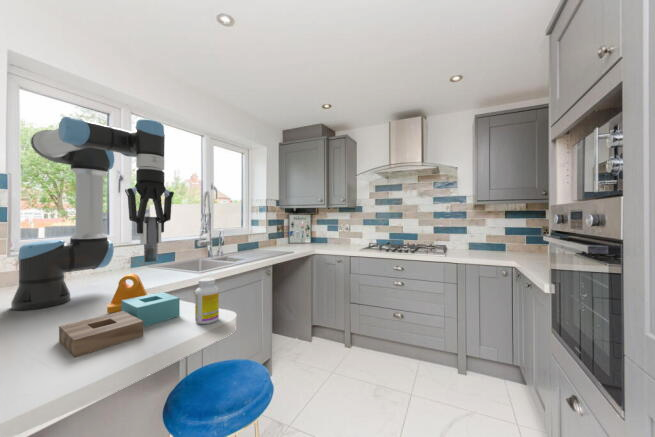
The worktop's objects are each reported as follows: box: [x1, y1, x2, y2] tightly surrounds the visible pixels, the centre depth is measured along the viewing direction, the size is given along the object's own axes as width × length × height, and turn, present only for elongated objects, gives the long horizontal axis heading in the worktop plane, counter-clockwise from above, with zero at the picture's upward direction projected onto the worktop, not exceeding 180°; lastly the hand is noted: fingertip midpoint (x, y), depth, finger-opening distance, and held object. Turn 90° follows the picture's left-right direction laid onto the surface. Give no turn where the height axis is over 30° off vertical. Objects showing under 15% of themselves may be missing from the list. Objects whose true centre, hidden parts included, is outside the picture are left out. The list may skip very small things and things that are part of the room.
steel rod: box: [143, 216, 159, 263], centre depth 87 cm, size 4×4×14 cm
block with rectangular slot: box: [121, 291, 181, 328], centre depth 87 cm, size 12×12×6 cm
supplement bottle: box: [194, 277, 220, 325], centre depth 84 cm, size 7×7×13 cm
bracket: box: [106, 273, 148, 314], centre depth 94 cm, size 11×7×12 cm, turn 116°
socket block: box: [58, 311, 144, 358], centre depth 72 cm, size 14×14×4 cm
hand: (150, 243), depth 87 cm, fingers closed on steel rod, 4 cm apart
